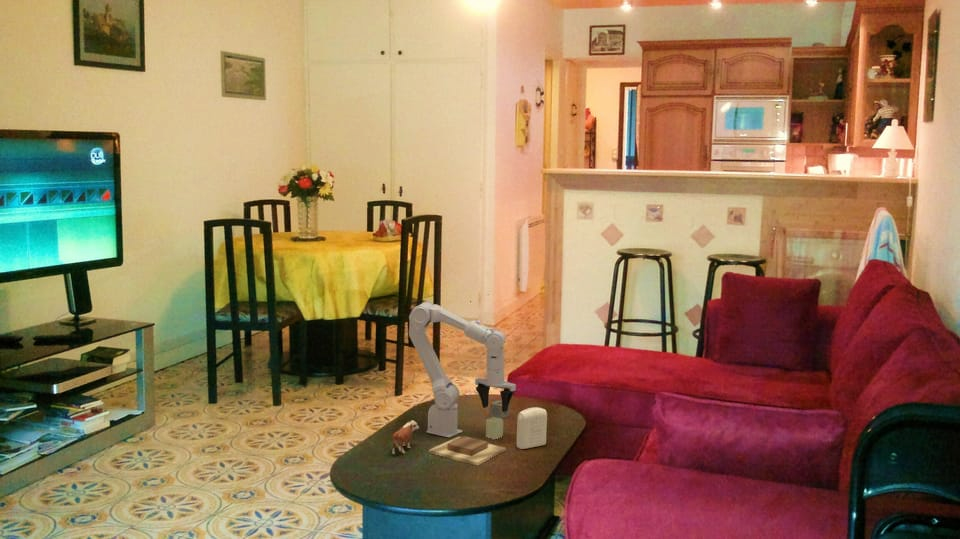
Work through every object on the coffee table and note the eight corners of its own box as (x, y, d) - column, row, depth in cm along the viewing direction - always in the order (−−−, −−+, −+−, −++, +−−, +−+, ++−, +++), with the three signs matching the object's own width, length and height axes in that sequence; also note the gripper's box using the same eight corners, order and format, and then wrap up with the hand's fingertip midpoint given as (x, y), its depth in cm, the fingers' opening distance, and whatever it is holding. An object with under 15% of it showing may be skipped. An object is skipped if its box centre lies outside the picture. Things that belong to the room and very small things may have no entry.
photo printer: (540, 441, 280) (541, 404, 279) (548, 445, 277) (549, 407, 275) (514, 446, 275) (515, 408, 273) (522, 450, 271) (523, 412, 270)
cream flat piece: (428, 453, 267) (428, 443, 267) (458, 439, 280) (458, 430, 280) (477, 465, 257) (477, 455, 257) (505, 450, 271) (506, 441, 270)
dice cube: (489, 417, 305) (490, 403, 305) (497, 413, 309) (498, 400, 309) (501, 419, 302) (502, 405, 302) (509, 416, 307) (509, 402, 306)
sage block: (485, 437, 283) (486, 419, 282) (492, 434, 286) (492, 416, 285) (496, 440, 281) (496, 422, 280) (502, 436, 284) (503, 419, 283)
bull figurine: (420, 444, 275) (421, 419, 274) (399, 457, 263) (399, 431, 262) (408, 442, 277) (409, 417, 276) (387, 455, 265) (387, 429, 264)
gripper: (520, 369, 280) (520, 409, 281) (483, 362, 288) (483, 402, 289) (509, 373, 274) (508, 415, 276) (471, 367, 282) (471, 407, 284)
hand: (495, 409), depth 282 cm, fingers open, 7 cm apart
